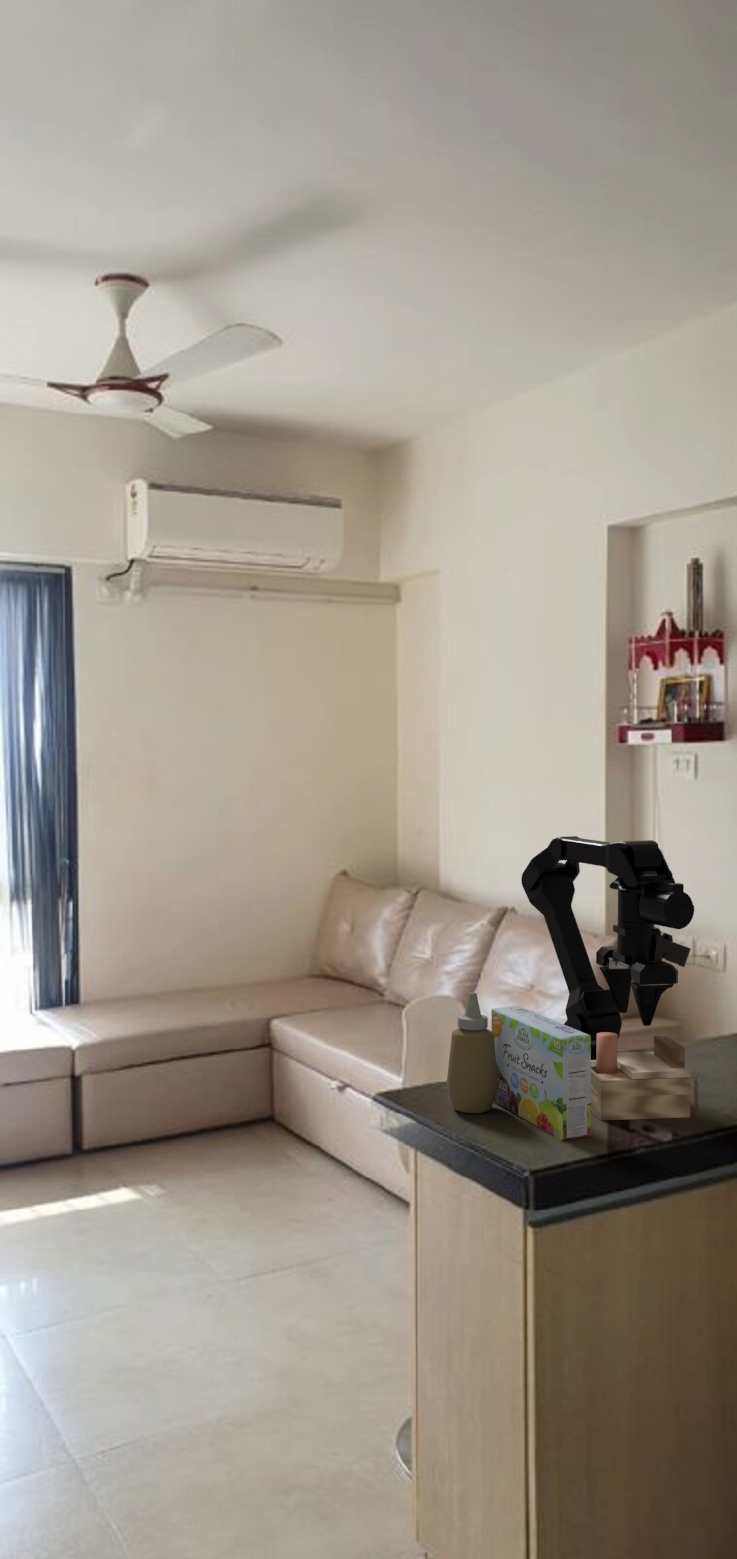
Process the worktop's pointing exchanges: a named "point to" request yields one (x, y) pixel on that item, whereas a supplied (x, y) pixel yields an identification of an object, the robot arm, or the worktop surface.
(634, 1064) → the lid
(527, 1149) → the worktop surface
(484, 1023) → the squeeze bottle
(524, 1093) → the snack box
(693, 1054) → the worktop surface
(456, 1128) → the worktop surface
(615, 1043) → the key peg
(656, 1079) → the wooden box
